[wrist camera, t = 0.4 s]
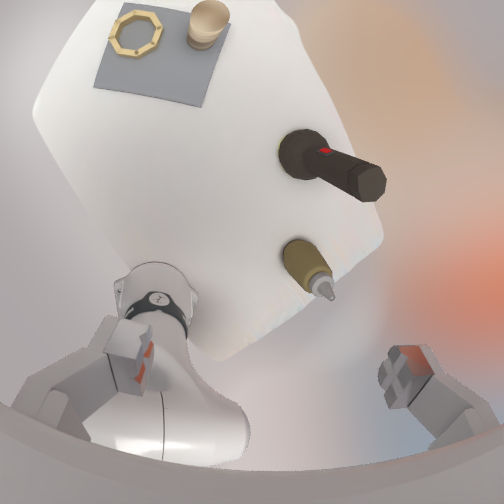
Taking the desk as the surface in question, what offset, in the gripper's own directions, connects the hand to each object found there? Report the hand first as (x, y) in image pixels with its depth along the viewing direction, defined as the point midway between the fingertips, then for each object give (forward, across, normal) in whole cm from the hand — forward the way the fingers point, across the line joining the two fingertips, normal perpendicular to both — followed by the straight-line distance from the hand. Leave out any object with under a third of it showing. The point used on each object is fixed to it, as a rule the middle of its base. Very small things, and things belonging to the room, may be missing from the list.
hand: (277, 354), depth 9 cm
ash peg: (+46, -12, +20) cm, 51 cm away
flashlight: (+52, +9, +1) cm, 53 cm away
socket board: (+45, -19, +17) cm, 52 cm away
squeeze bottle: (+52, +12, -21) cm, 58 cm away
